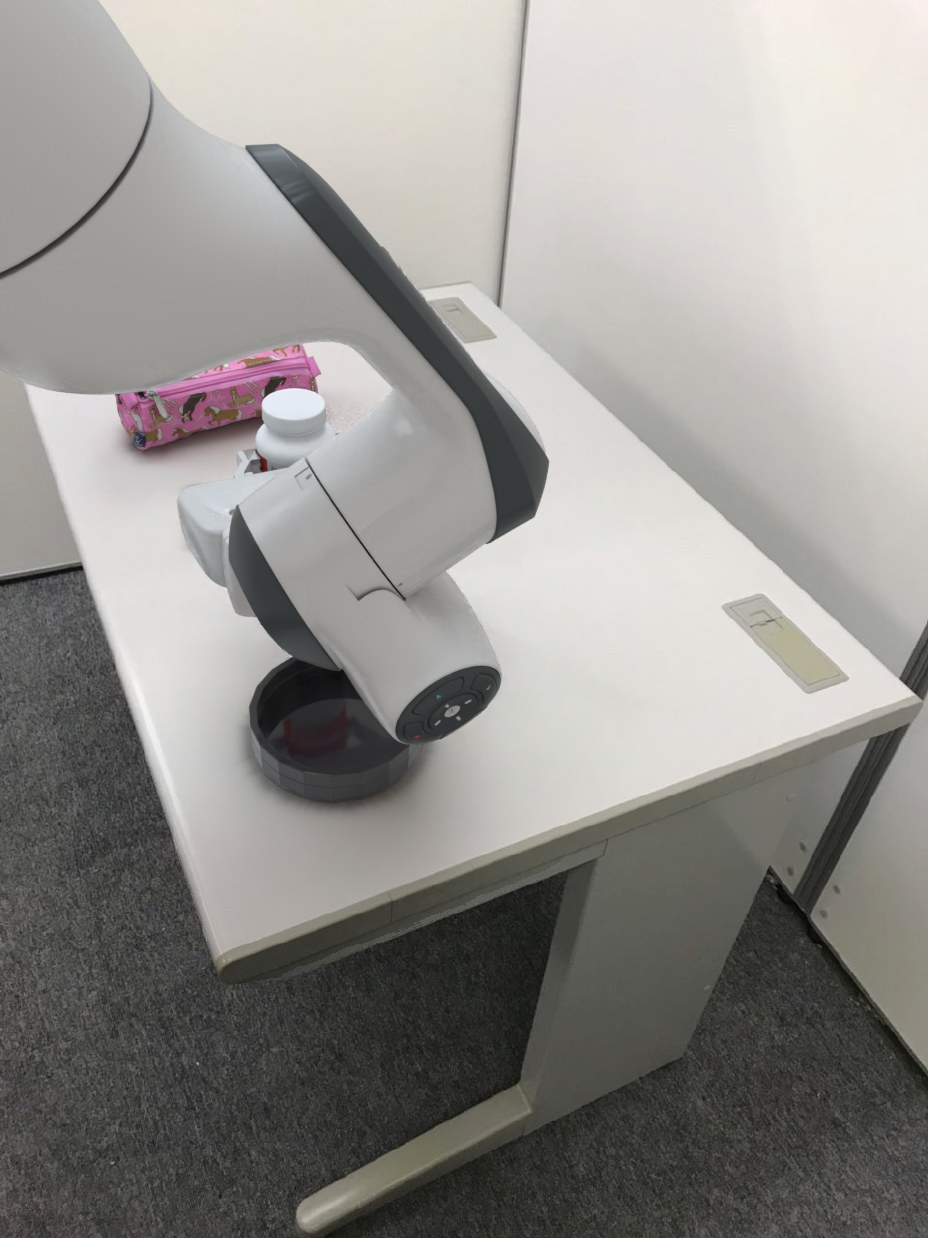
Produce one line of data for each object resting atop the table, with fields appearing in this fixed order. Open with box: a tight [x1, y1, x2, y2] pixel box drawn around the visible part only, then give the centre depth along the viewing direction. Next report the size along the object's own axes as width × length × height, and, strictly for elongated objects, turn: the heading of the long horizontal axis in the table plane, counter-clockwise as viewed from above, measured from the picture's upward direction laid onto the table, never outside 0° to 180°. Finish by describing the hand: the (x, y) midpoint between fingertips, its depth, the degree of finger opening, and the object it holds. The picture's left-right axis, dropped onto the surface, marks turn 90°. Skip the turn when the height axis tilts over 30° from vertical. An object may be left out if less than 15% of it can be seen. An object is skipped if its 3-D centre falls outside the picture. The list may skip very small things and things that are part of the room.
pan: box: [248, 656, 423, 803], centre depth 75 cm, size 13×13×3 cm
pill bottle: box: [254, 388, 337, 472], centre depth 75 cm, size 6×6×11 cm
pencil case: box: [114, 344, 322, 451], centre depth 105 cm, size 21×9×9 cm, turn 121°
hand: (292, 448), depth 75 cm, fingers closed on pill bottle, 6 cm apart
